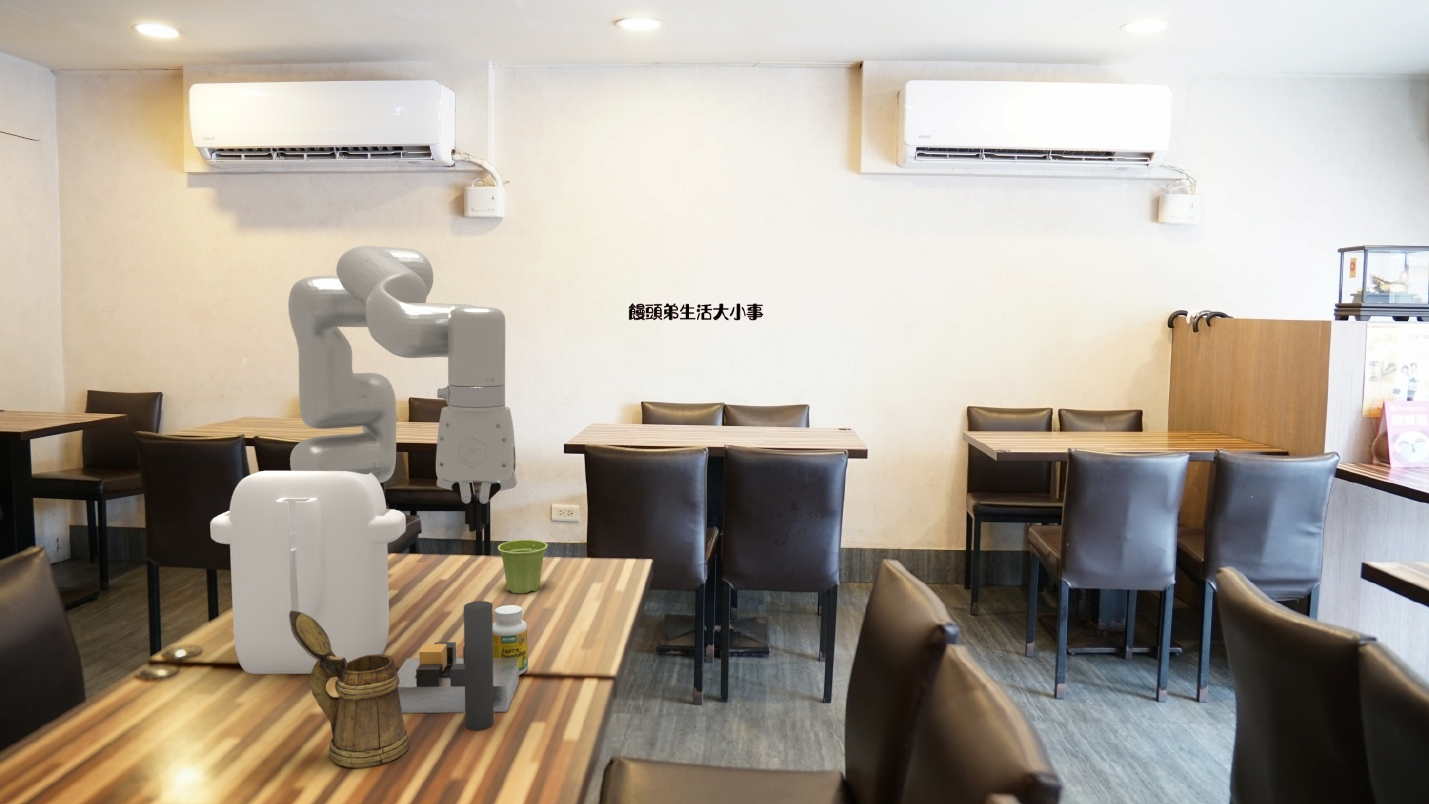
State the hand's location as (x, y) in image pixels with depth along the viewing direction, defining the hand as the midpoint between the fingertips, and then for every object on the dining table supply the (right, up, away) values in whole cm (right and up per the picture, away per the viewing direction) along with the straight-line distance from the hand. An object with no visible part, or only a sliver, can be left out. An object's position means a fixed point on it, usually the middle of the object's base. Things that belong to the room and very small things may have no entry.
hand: (477, 529), depth 124 cm
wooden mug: (-12, -26, -14) cm, 31 cm away
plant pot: (-4, -19, +51) cm, 54 cm away
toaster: (-28, -23, +11) cm, 38 cm away
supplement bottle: (+2, -23, +11) cm, 26 cm away
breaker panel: (-4, -24, +2) cm, 24 cm away
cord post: (+2, -25, -6) cm, 26 cm away
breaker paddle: (-6, -20, +1) cm, 21 cm away
